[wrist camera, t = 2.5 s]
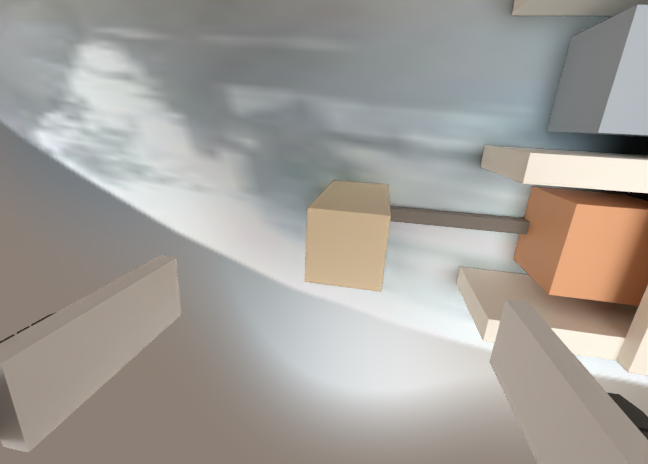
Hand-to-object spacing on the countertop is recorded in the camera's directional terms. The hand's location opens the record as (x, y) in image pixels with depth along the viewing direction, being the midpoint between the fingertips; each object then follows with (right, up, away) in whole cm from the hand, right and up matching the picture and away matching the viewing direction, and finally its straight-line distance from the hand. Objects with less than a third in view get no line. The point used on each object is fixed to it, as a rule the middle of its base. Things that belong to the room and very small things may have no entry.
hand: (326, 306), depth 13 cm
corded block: (+11, +4, +13) cm, 18 cm away
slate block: (+19, +13, +9) cm, 25 cm away
